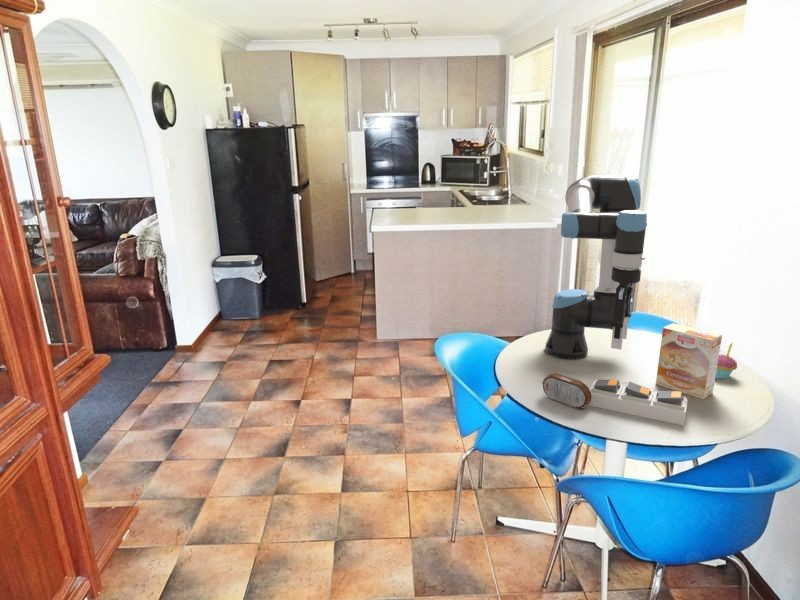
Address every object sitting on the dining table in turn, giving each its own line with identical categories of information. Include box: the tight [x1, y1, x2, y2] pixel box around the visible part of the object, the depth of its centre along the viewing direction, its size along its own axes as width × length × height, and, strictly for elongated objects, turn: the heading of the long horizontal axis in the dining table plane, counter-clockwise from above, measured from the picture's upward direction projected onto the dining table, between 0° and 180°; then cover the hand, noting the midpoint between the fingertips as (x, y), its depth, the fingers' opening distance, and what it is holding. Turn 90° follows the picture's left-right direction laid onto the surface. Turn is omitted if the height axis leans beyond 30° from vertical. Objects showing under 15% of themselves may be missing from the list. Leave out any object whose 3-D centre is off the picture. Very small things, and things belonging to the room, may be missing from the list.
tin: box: [542, 372, 591, 410], centre depth 165 cm, size 15×3×8 cm, turn 44°
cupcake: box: [715, 342, 738, 380], centre depth 181 cm, size 9×8×12 cm
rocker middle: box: [625, 381, 651, 399], centre depth 161 cm, size 6×5×2 cm
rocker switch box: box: [587, 379, 688, 426], centre depth 162 cm, size 28×9×5 cm, turn 61°
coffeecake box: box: [655, 322, 723, 400], centre depth 172 cm, size 15×7×20 cm, turn 40°
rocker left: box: [595, 379, 620, 391], centre depth 165 cm, size 6×5×2 cm
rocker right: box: [657, 390, 683, 404], centre depth 157 cm, size 6×5×2 cm
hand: (618, 343), depth 160 cm, fingers open, 9 cm apart
